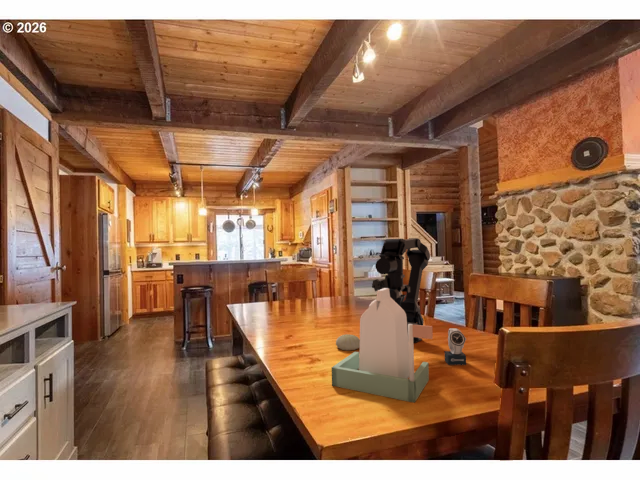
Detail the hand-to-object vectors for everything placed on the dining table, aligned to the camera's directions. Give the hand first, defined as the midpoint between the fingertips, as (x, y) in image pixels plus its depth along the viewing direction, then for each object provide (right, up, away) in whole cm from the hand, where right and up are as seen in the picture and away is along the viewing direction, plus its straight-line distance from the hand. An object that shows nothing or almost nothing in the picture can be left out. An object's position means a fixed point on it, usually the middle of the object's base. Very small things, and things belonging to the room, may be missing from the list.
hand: (396, 314), depth 128 cm
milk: (-9, -13, -27) cm, 32 cm away
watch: (+16, -13, -16) cm, 26 cm away
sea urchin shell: (-18, -14, +3) cm, 23 cm away
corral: (-9, -13, -32) cm, 35 cm away
